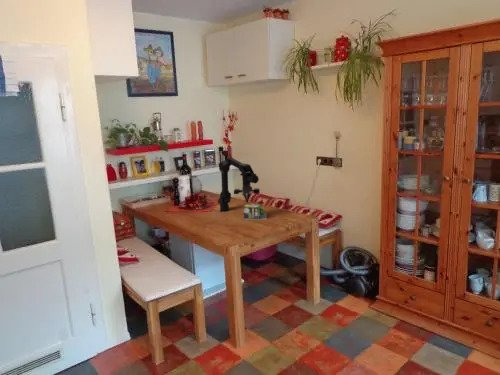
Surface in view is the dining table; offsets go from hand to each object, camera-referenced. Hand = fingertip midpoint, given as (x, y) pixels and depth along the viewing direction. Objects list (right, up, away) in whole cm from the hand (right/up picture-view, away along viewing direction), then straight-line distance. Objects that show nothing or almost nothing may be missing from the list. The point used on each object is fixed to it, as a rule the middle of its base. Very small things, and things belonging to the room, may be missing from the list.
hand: (247, 202), depth 272 cm
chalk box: (-2, -6, 0) cm, 7 cm away
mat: (+6, -11, +2) cm, 13 cm away
